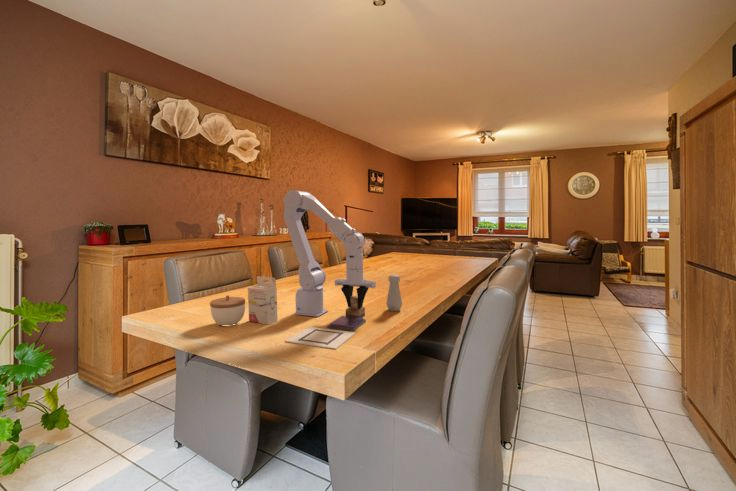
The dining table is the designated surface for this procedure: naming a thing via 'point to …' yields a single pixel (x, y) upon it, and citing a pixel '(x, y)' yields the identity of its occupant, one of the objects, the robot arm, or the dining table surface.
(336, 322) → the ink pad
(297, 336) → the marked sheet
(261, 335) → the dining table surface
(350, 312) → the stamp
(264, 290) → the ink cartridge box
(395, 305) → the salt shaker
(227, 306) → the lidded jar
